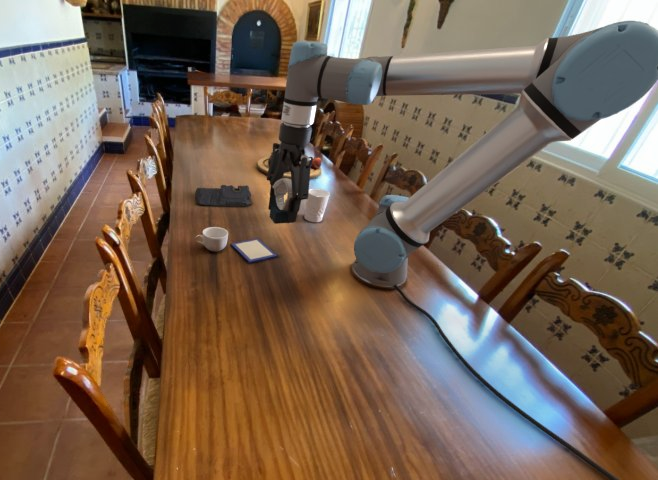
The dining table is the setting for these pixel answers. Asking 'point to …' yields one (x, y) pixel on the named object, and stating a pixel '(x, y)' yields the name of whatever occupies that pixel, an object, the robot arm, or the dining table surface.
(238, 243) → the coaster
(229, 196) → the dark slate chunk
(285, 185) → the watch
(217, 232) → the teacup
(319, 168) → the wooden plate
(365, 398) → the dining table surface
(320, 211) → the white cup
